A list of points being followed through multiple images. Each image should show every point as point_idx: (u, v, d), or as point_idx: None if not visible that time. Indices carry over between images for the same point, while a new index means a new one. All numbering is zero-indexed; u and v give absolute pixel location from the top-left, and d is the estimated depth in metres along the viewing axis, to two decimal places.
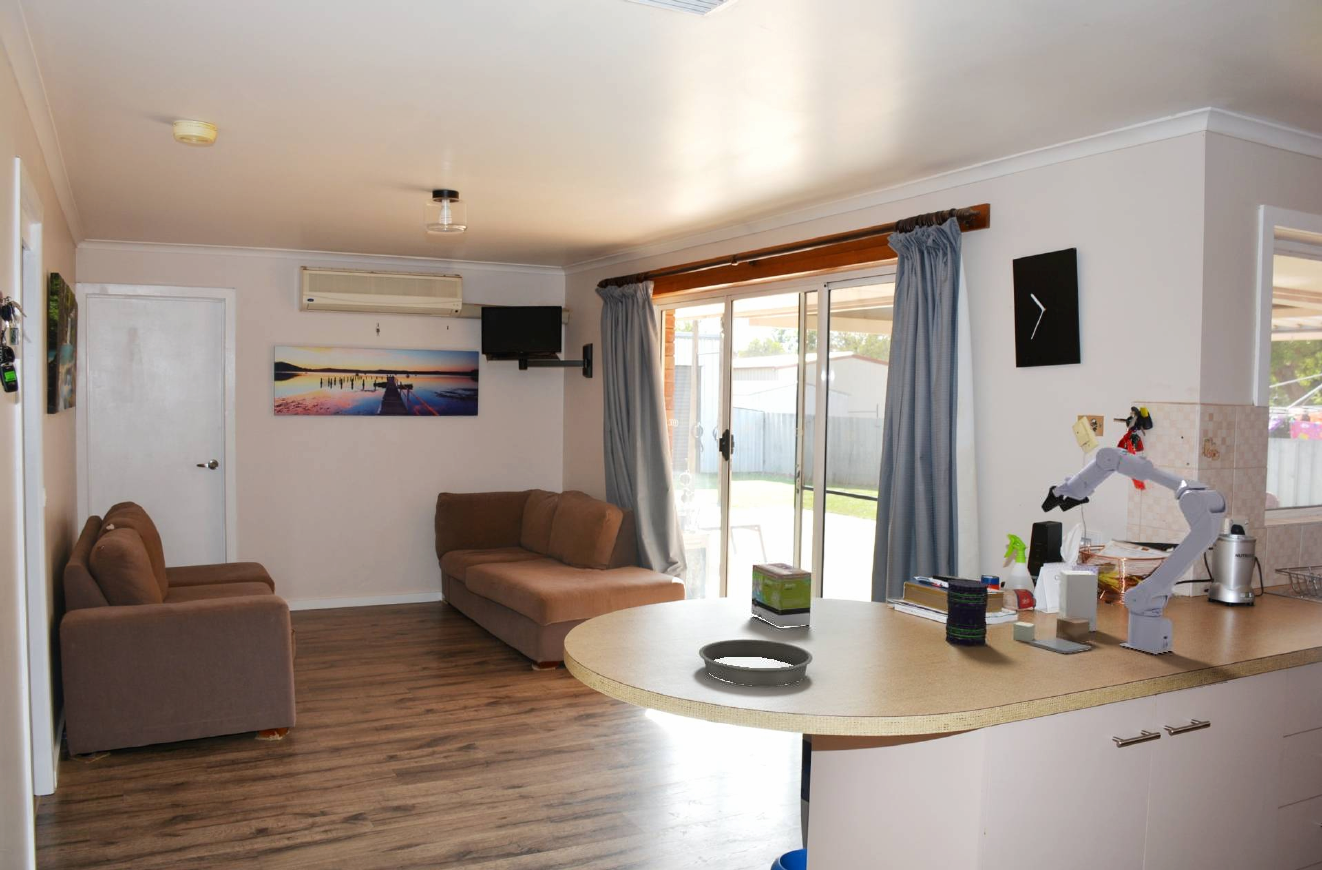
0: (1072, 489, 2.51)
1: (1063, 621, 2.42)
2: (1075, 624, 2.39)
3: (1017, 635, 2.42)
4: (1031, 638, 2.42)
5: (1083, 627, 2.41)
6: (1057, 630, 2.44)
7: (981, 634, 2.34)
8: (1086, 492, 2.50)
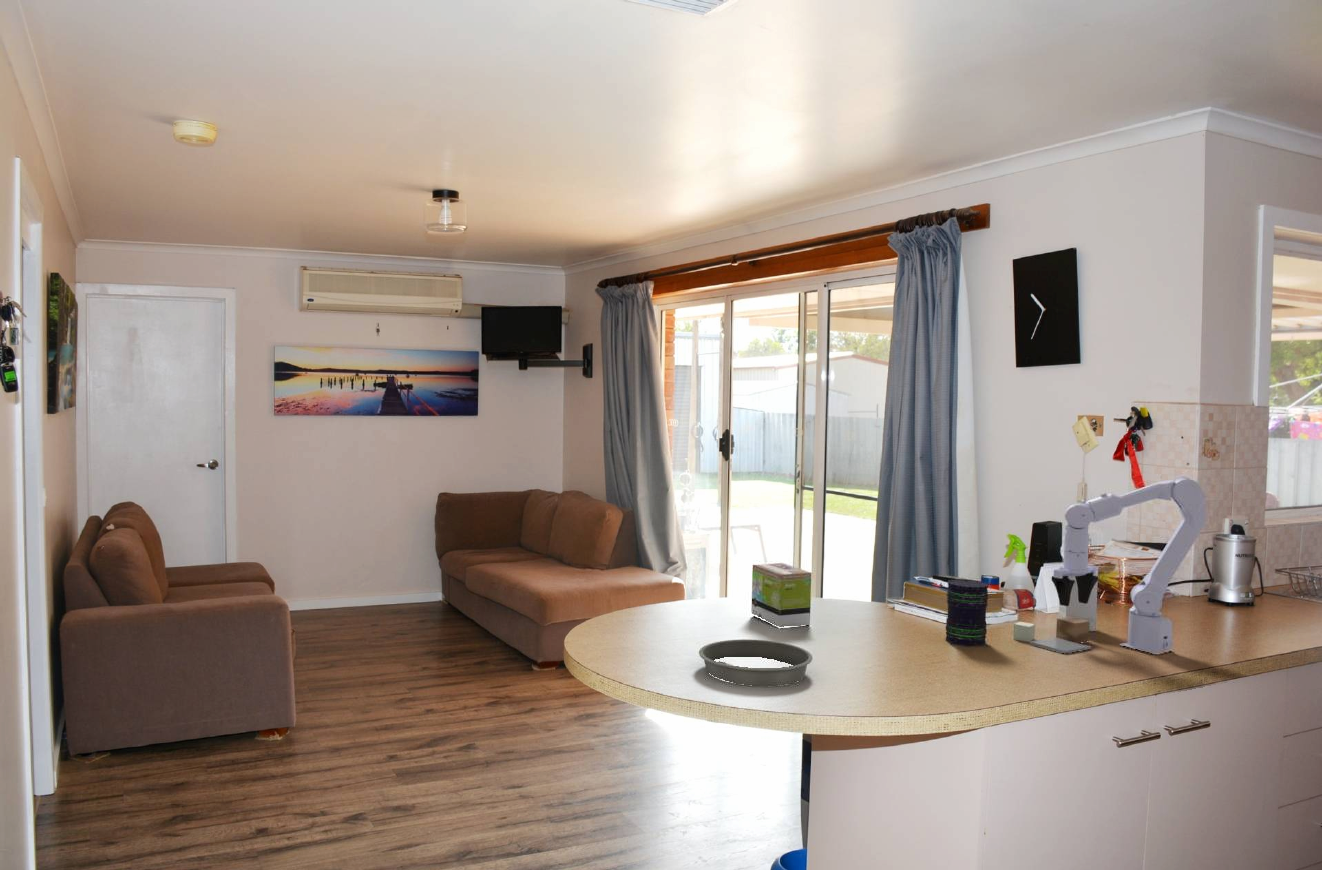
0: (1070, 566, 2.41)
1: (1063, 621, 2.42)
2: (1075, 624, 2.39)
3: (1017, 635, 2.42)
4: (1031, 638, 2.42)
5: (1083, 627, 2.41)
6: (1057, 630, 2.44)
7: (981, 634, 2.34)
8: (1083, 561, 2.40)
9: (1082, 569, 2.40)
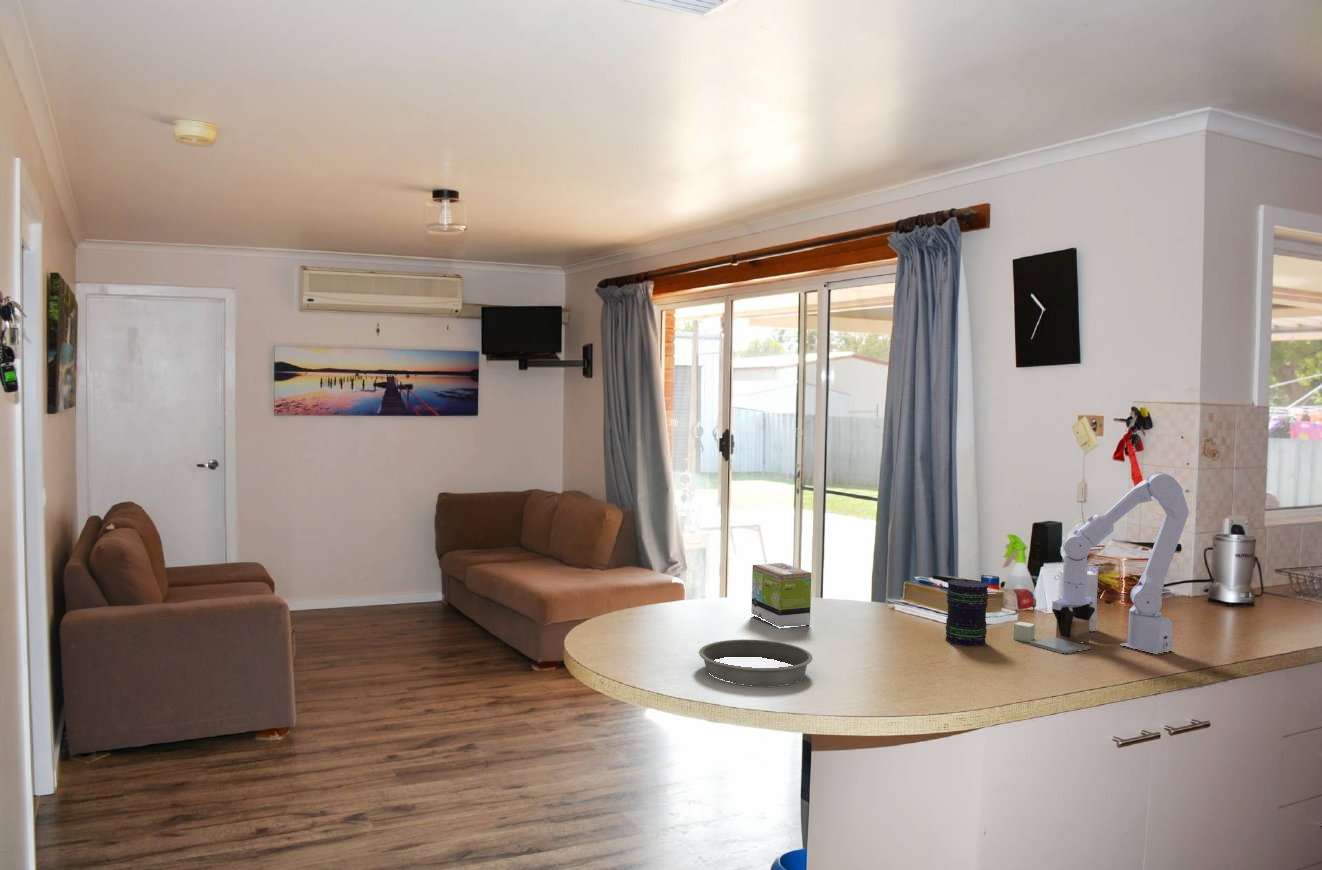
0: (1069, 598, 2.41)
1: None
2: (1075, 624, 2.39)
3: (1017, 635, 2.42)
4: (1031, 638, 2.42)
5: (1083, 626, 2.41)
6: (1057, 630, 2.44)
7: (981, 634, 2.34)
8: (1082, 592, 2.40)
9: (1081, 600, 2.40)
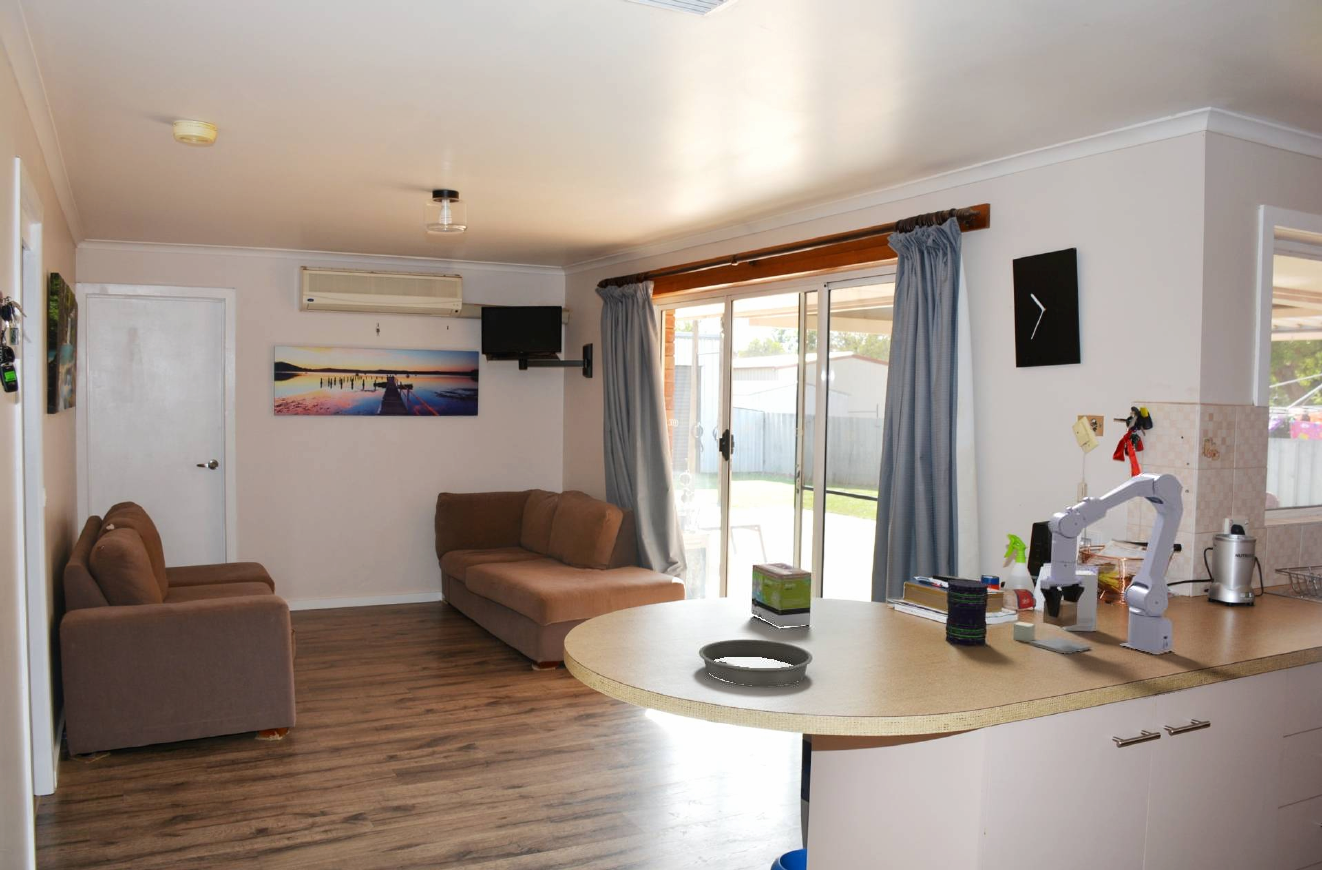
0: (1057, 576, 2.33)
1: None
2: (1062, 606, 2.32)
3: (1017, 635, 2.42)
4: (1031, 638, 2.42)
5: (1071, 608, 2.34)
6: (1044, 612, 2.37)
7: (981, 634, 2.34)
8: (1071, 571, 2.32)
9: (1070, 579, 2.32)
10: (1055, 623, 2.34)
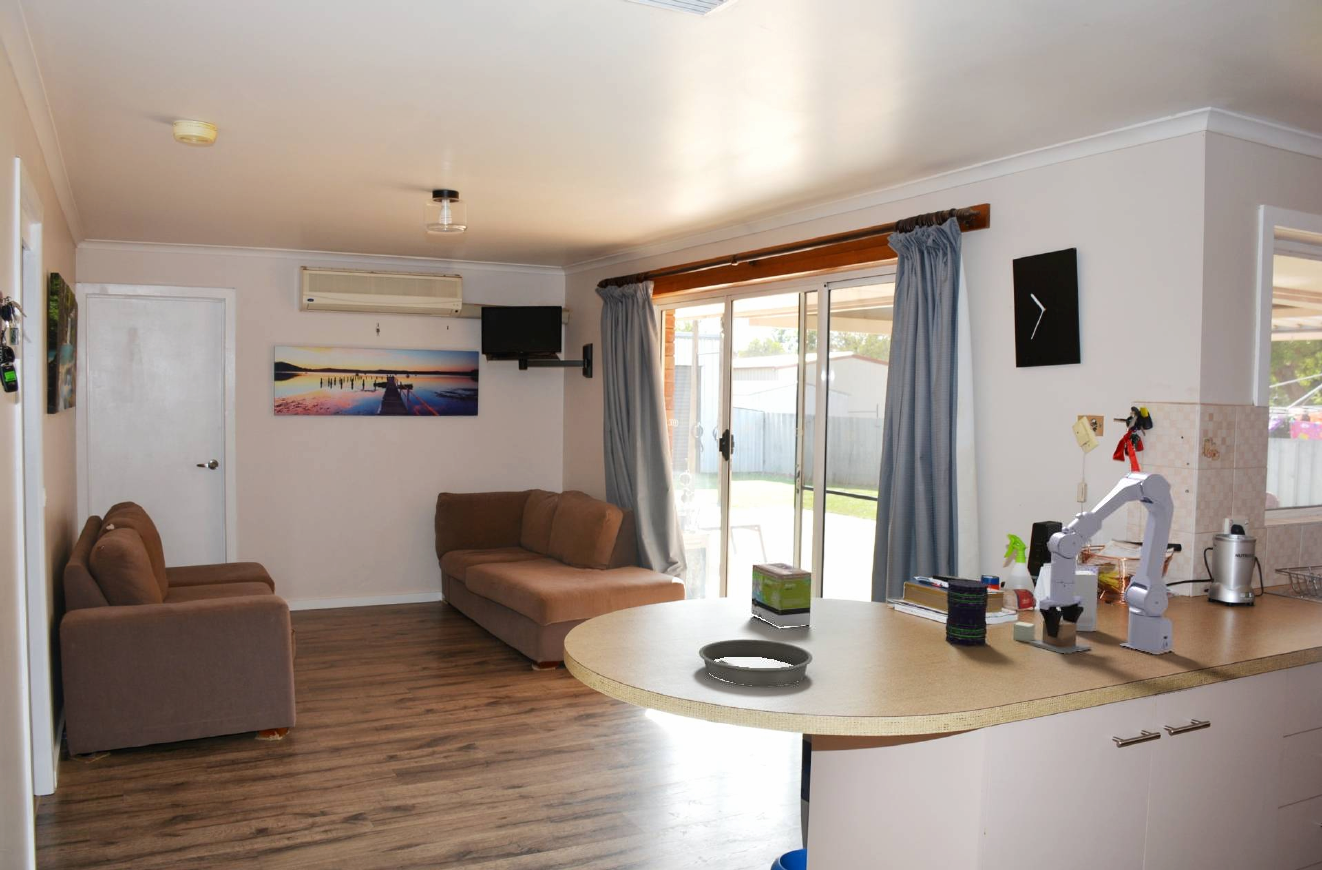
0: (1056, 597, 2.34)
1: None
2: (1062, 626, 2.32)
3: (1017, 635, 2.42)
4: (1031, 638, 2.42)
5: (1070, 629, 2.34)
6: (1043, 632, 2.37)
7: (981, 634, 2.34)
8: (1070, 591, 2.33)
9: (1069, 600, 2.33)
10: (1054, 643, 2.34)
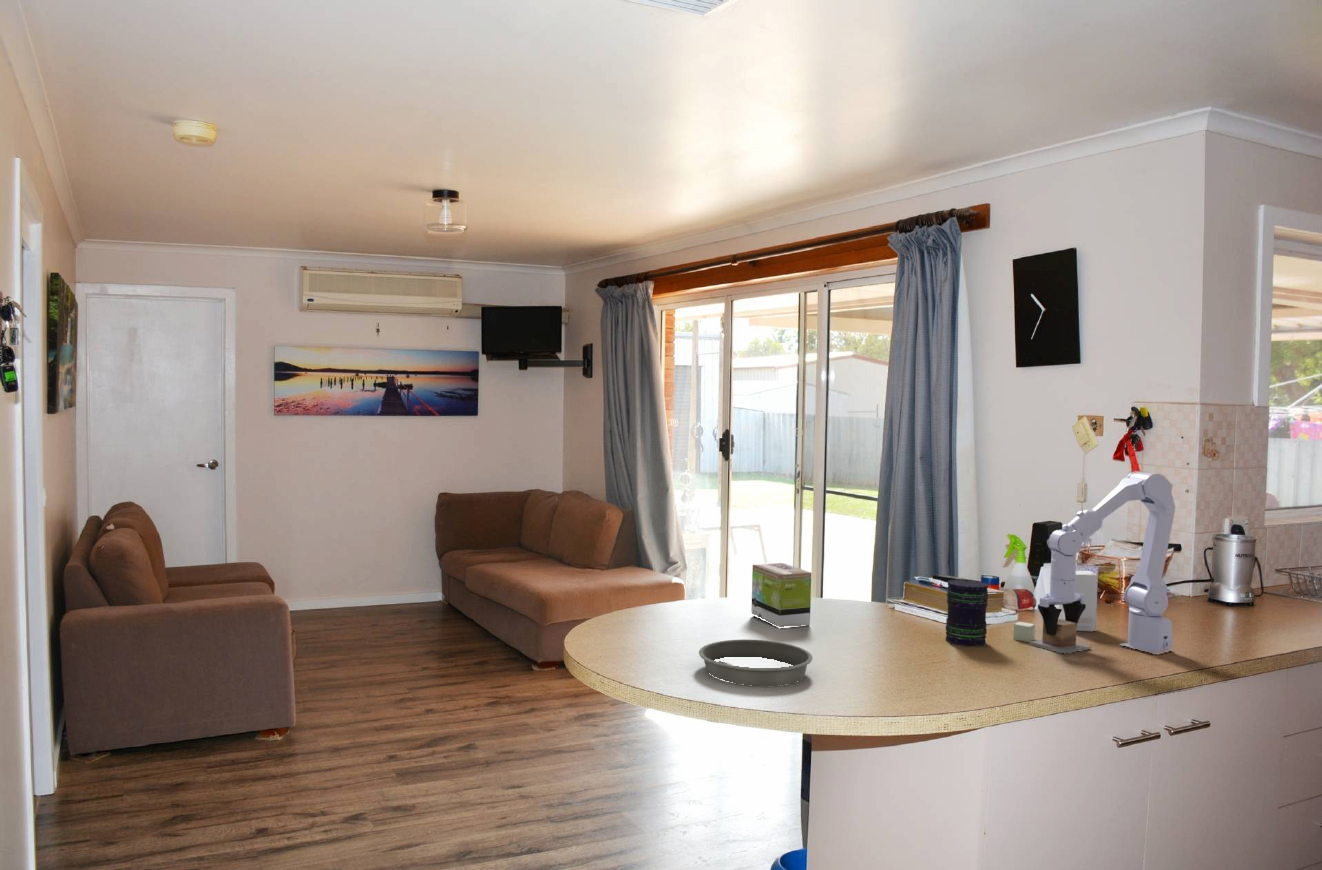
0: (1056, 594, 2.33)
1: None
2: (1062, 626, 2.32)
3: (1017, 635, 2.42)
4: (1031, 638, 2.42)
5: (1070, 629, 2.34)
6: (1043, 632, 2.37)
7: (981, 634, 2.34)
8: (1070, 589, 2.33)
9: (1069, 597, 2.33)
10: (1054, 643, 2.34)
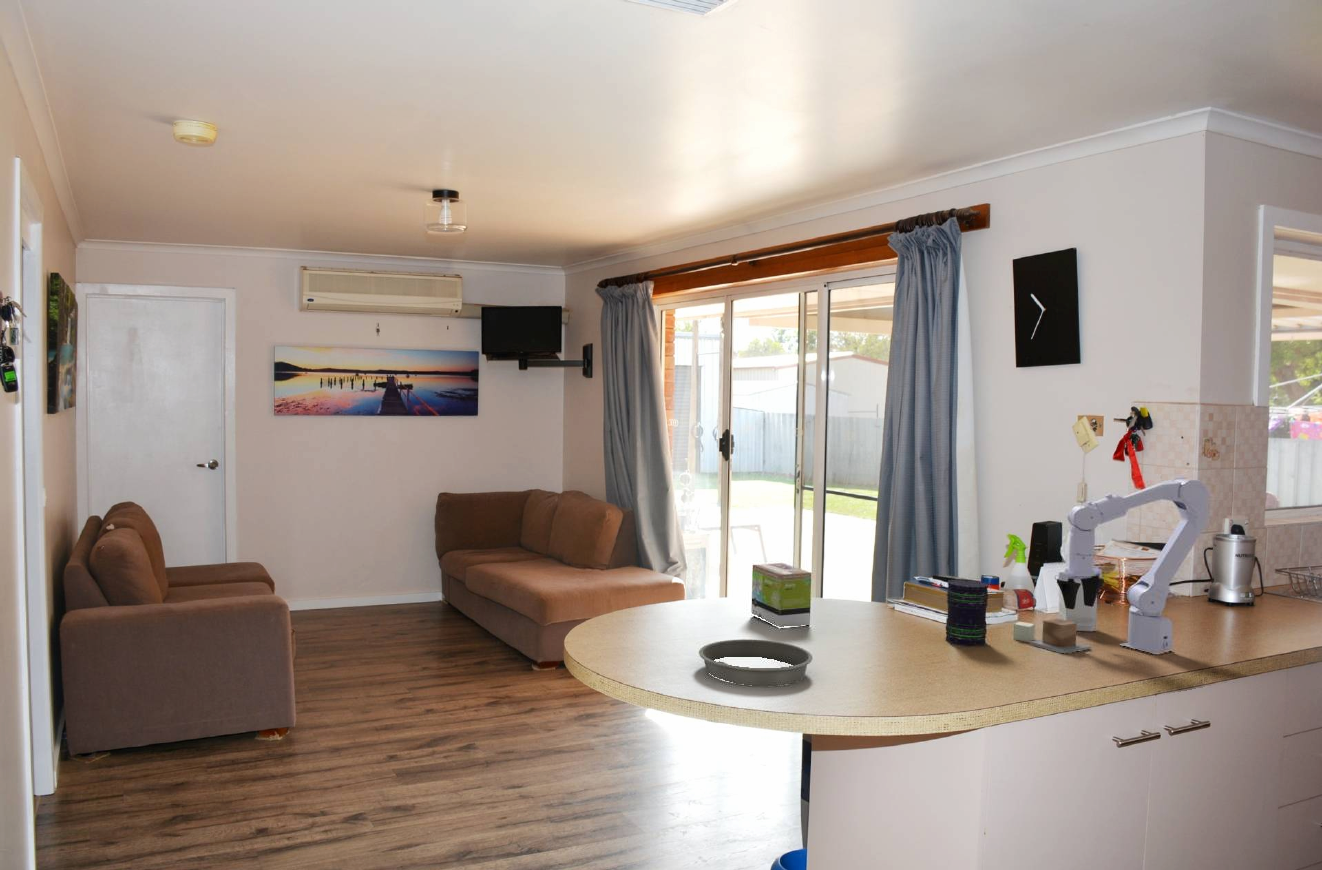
0: (1075, 569, 2.37)
1: (1049, 623, 2.35)
2: (1062, 626, 2.32)
3: (1017, 635, 2.42)
4: (1031, 638, 2.42)
5: (1070, 629, 2.34)
6: (1043, 632, 2.37)
7: (981, 634, 2.34)
8: (1089, 563, 2.36)
9: (1088, 572, 2.36)
10: (1054, 643, 2.34)
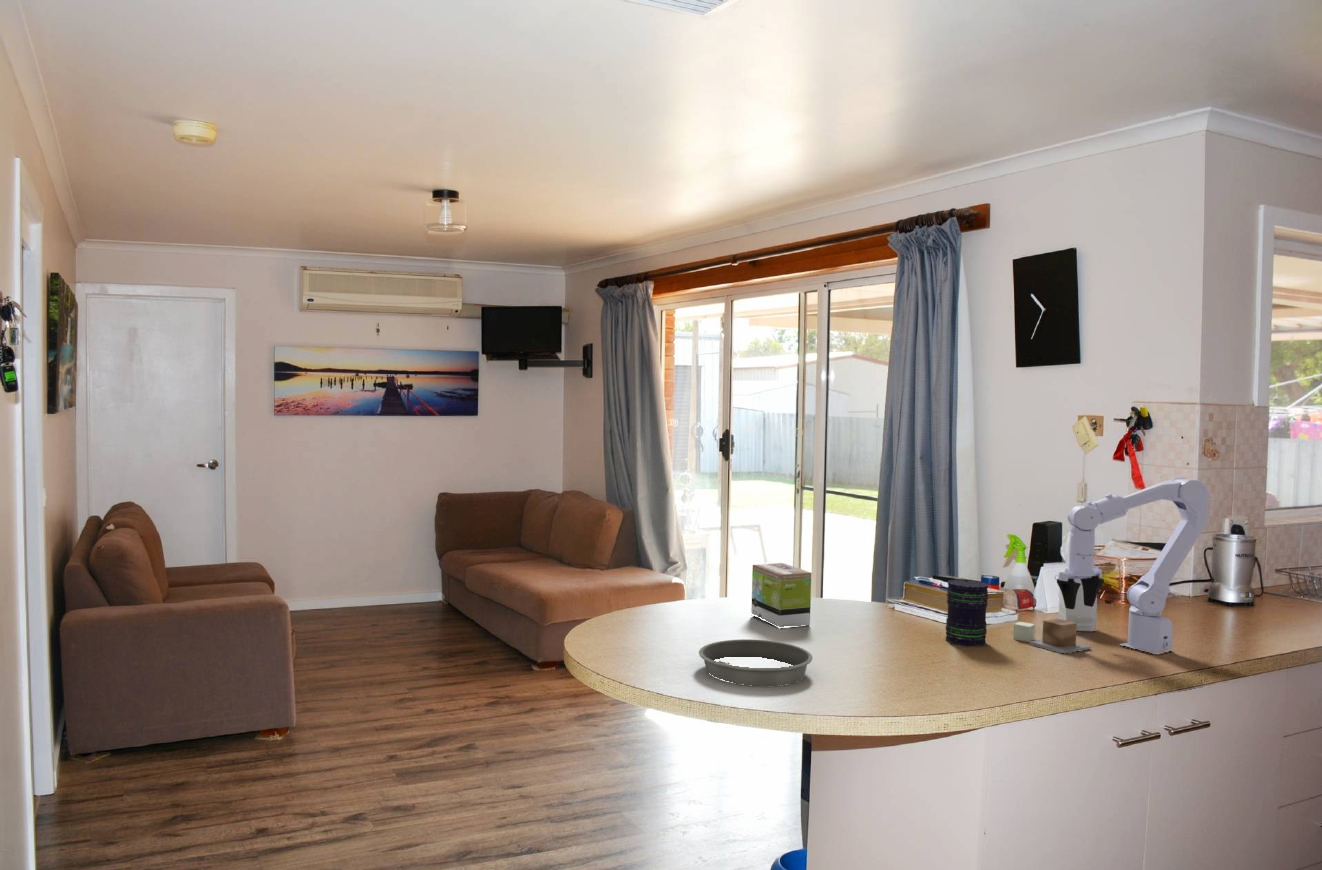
0: (1075, 569, 2.37)
1: (1049, 623, 2.35)
2: (1062, 626, 2.32)
3: (1017, 635, 2.42)
4: (1031, 638, 2.42)
5: (1070, 629, 2.34)
6: (1043, 632, 2.37)
7: (981, 634, 2.34)
8: (1089, 563, 2.36)
9: (1088, 572, 2.36)
10: (1054, 643, 2.34)
